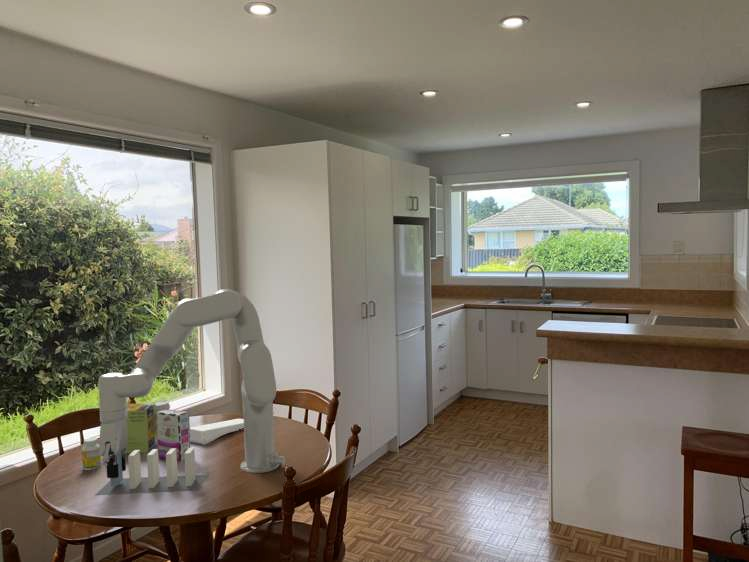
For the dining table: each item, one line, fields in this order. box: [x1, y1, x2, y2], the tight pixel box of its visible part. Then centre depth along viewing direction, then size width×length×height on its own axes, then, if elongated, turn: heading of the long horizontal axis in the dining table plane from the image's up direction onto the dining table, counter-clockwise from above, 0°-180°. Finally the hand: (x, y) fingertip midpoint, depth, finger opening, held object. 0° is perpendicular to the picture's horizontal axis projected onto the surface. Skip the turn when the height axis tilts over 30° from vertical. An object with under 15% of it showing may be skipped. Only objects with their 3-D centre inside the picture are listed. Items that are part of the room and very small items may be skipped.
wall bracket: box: [190, 418, 244, 445], centre depth 222 cm, size 10×7×28 cm
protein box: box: [110, 402, 158, 454], centre depth 206 cm, size 10×15×16 cm
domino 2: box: [146, 448, 160, 488], centre depth 172 cm, size 2×5×10 cm, turn 3°
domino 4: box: [184, 447, 196, 486], centre depth 172 cm, size 2×5×10 cm, turn 3°
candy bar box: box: [156, 408, 191, 463], centre depth 195 cm, size 11×5×16 cm, turn 62°
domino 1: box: [127, 450, 142, 489], centre depth 171 cm, size 2×5×10 cm, turn 3°
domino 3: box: [165, 448, 178, 487], centre depth 172 cm, size 2×5×10 cm, turn 3°
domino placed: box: [109, 451, 124, 487], centre depth 171 cm, size 2×5×10 cm, turn 3°
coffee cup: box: [151, 400, 171, 428], centre depth 224 cm, size 8×9×12 cm
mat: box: [94, 474, 209, 496], centre depth 172 cm, size 30×12×1 cm, turn 93°
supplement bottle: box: [81, 437, 101, 471], centre depth 188 cm, size 5×5×10 cm
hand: (116, 473), depth 171 cm, fingers closed on domino placed, 4 cm apart
